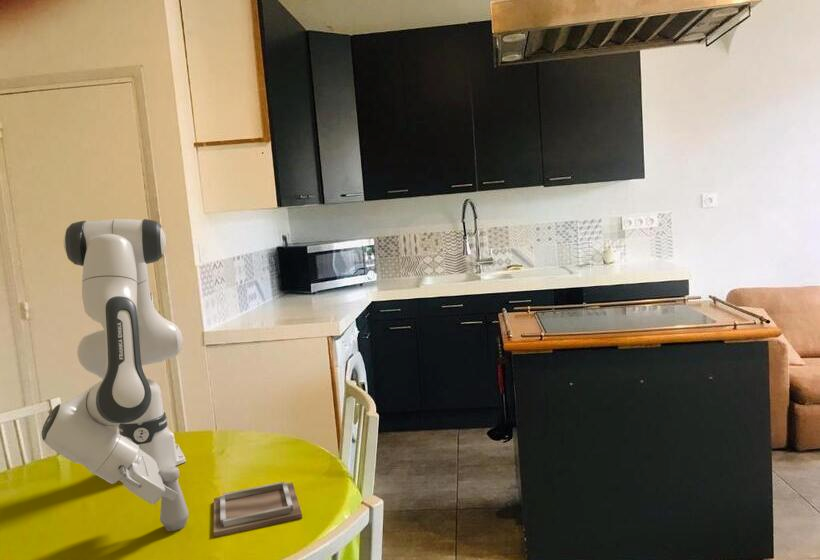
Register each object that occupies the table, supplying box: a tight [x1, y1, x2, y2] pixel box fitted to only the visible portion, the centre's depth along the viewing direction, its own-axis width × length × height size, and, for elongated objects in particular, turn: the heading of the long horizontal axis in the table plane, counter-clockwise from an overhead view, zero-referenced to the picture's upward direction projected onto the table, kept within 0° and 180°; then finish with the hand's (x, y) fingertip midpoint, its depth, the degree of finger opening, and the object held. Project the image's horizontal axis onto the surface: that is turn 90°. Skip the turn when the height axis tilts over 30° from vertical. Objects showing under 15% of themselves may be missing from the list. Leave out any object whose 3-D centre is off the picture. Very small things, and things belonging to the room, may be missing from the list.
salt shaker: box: [158, 466, 189, 532], centre depth 144 cm, size 6×6×13 cm
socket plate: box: [213, 481, 303, 538], centre depth 149 cm, size 18×18×2 cm
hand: (174, 493), depth 144 cm, fingers closed on salt shaker, 3 cm apart
